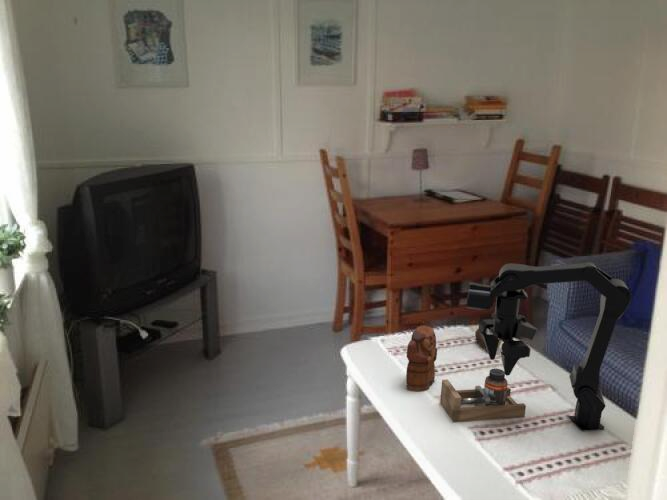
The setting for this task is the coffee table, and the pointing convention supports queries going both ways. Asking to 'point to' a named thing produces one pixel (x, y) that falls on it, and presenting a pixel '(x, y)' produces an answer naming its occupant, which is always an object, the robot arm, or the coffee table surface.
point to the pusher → (479, 397)
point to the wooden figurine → (421, 359)
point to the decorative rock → (480, 339)
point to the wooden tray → (453, 402)
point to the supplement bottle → (496, 387)
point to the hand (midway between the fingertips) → (499, 367)
